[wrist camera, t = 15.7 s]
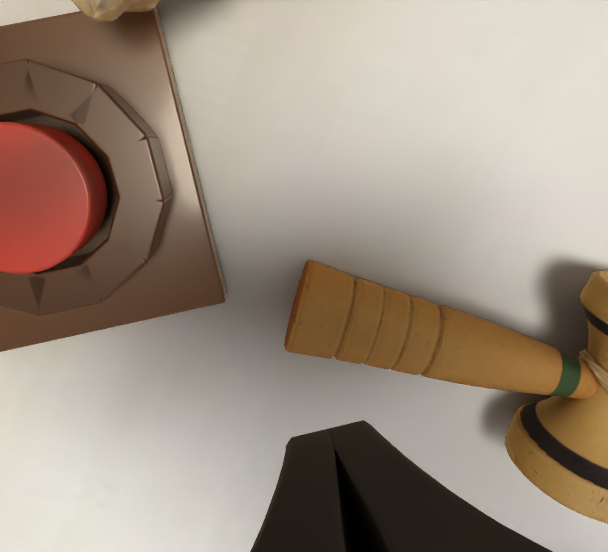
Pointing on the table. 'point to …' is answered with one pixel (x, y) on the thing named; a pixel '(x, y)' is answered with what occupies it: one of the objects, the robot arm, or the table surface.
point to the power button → (46, 197)
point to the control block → (110, 177)
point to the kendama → (477, 370)
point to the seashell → (112, 8)
